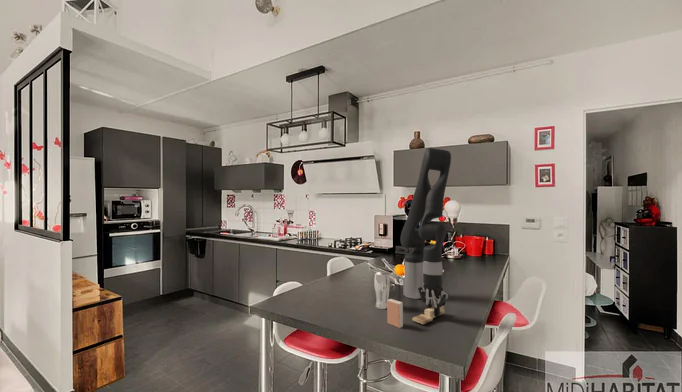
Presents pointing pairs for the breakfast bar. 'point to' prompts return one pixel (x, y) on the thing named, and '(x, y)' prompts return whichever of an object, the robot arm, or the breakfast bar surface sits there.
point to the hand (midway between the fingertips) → (433, 314)
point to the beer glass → (381, 289)
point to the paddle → (427, 315)
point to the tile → (395, 313)
